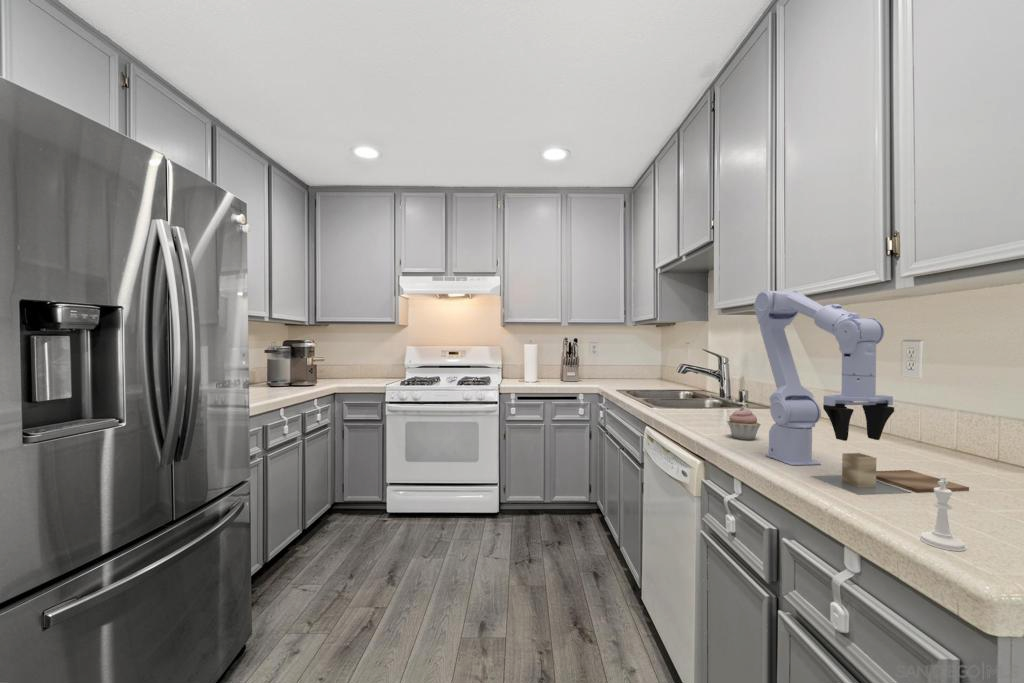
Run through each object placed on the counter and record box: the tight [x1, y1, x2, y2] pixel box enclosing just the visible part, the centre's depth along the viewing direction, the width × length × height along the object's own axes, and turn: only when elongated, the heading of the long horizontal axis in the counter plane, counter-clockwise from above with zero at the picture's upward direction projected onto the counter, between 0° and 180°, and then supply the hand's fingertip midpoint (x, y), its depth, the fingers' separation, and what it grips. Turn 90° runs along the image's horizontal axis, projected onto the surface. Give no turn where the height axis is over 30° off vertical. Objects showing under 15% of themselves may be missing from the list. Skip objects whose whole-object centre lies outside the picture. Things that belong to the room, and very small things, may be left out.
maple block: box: [841, 452, 877, 487], centre depth 94 cm, size 4×4×6 cm
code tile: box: [810, 474, 912, 496], centre depth 94 cm, size 12×12×1 cm
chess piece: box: [919, 475, 967, 552], centre depth 67 cm, size 5×5×10 cm
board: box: [876, 469, 970, 494], centre depth 96 cm, size 12×12×1 cm
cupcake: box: [726, 405, 761, 441], centre depth 138 cm, size 9×9×10 cm
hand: (857, 439), depth 95 cm, fingers open, 7 cm apart
